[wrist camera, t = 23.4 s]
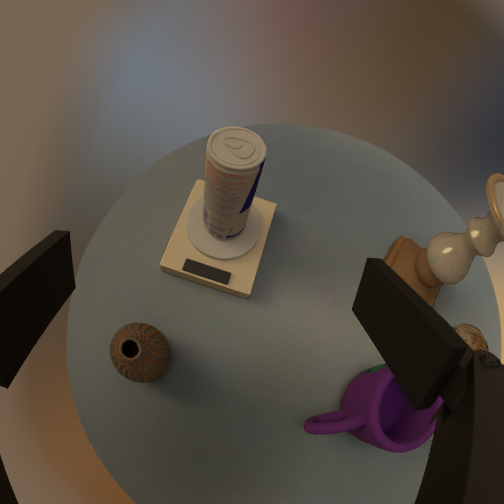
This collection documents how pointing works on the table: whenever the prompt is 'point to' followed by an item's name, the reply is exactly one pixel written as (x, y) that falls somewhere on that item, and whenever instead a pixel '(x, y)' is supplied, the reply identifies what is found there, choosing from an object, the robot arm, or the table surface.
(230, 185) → the beverage can
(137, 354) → the vase
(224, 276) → the kitchen scale
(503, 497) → the robot arm
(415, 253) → the candle holder
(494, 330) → the table surface
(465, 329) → the seashell
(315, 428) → the mug
